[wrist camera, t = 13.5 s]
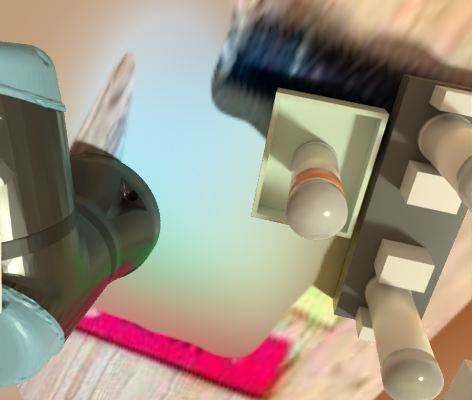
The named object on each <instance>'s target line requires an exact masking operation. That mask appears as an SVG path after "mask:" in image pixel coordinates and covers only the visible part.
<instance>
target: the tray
mask: <svg viewBox="0 0 472 400" xmlns="http://www.w3.org/2000/svg"><path fill="white" fill-rule="evenodd" d="M388 117H389V114H388V113H387V112H386V110H385V109H383V108H378V107H373V106H368V105H363V104H358V103H353V102H348V101H343V100H338V99H333V98H328V97H323V96H318V95H313V94H308V93H303V92H298V91H293V90H288V89H283V88H278V90H277V92H276V96H275V101H274V106H273V111H272V116H271V121H270V126H269V130H268V135H267V140H266V145H265V150H264V155H263V160H262V165H261V169H260V175H259V180H258V184H257V189H256V194H255V199H254V203H253V208H252V213H251V217H256V218H260V219H265V220H269V221H274V222H278V223H283V224H287V225H289V223H288V221H287V217H286V206H287V200H288V195H289V188H290V184H291V176H292V160H293V155H294V153H295V151H296V150H297V149H298V147H300V146H301V145H302V144H304V143H306V142H308V141H314V140H317V141H322V142H325V143H327V144H329V145H330V146H331V147H332V148H333V149H334V150H335V152H336V154H337V158H338V164H339V166H338V168H339V174H340V179H341V183H342V186H343V191H344V196H345V199H346V203H347V208H348V216H347V220H346V223H345V225H344V226H343V228H342V229H341V230H340V231H339V232H338V233H337V234H335V235H336V236H341V237H345V238H350V239H351V236H352V233H353V229H354V226H355V223H356V220H357V217H358V213H359V210H360V207H361V204H362V201H363V197H364V194H365V191H366V188H367V185H368V181H369V178H370V175H371V172H372V169H373V165H374V162H375V159H376V156H377V153H378V149H379V146H380V143H381V140H382V137H383V133H384V130H385V127H386V124H387V121H388Z"/></svg>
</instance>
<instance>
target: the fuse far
mask: <svg viewBox="0 0 472 400" xmlns="http://www.w3.org/2000/svg"><path fill="white" fill-rule="evenodd" d="M364 291H365V297H366V302H367V304H368V307H369V312H370V317H371V322H372V327H373V332H374V336H375V341H376V346H377V351H378V356H379V361H380V366H381V377H382V382H383V387H384V389H385V391H386V392H387V393H388V395H389V396H391V397H392V398H393V399H395V400H432V399H433V398H435V397H436V396H437V395H438V394H439V393H440V392H441V390H442V388H443V384H444V379H443V376H442V372H441V370H440V367H439V365H438V362H437V361H436V359H435V357H434V355H433V352H432V349H431V347H430V344H429V341H428V338H427V336H426V333H425V330H424V328H423V325H422V322H421V319H420V317H419V314H418V311H417V309H416V306H415V303H414V300H413V298H412V292H411V290H409V289H404V288H400V287H395V286H391V285H387V284H382V283H378V279H377V275H374V276H372V277H371V278H370V279H369V280H368V281H367V283H366V285H365V290H364Z"/></svg>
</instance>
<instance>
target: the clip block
mask: <svg viewBox="0 0 472 400" xmlns="http://www.w3.org/2000/svg"><path fill="white" fill-rule="evenodd" d="M441 112H450V113H456V114H459V115H461V116H462V117H464V118H465V119H467V120H468V121H469V122H470V123H471V124H472V87H469V86H464V85H459V84H453V83H448V82H443V81H438V80H433V79H428V78H422V77H417V76H412V75H407V74H403V77H402V80H401V83H400V86H399V89H398V93H397V96H396V99H395V102H394V105H393V109H392V112H391V115H390V118H389V121H388V125H387V128H386V131H385V134H384V137H383V140H382V144H381V147H380V150H379V153H378V156H377V160H376V163H375V166H374V169H373V172H372V176H371V179H370V182H369V185H368V188H367V192H366V195H365V198H364V201H363V204H362V207H361V211H360V214H359V217H358V220H357V223H356V227H355V230H354V233H353V236H352V239H351V243H350V246H349V249H348V252H347V255H346V258H345V262H344V265H343V268H342V271H341V274H340V278H339V281H338V284H337V287H336V290H335V294H334V297H333V307H334V315H338V316H343V317H347V318H351V319H355V320H356V327H357V333H358V339H361V340H365V341H370V342H374V343H376V341H375V336H374V332H373V327H372V322H371V317H370V312H369V307H368V304H367V302H366V297H365V291H364V290H365V285H366V283H367V281H368V280H369V279H370V278H371V277H372V276H374V275H377V279H378V283H382V284H387V285H391V286H395V287H400V288H404V289H409V290H411V292H412V298H413V300H414V303H415V306H416V309H417V311H418V314H419V317H420V319H422V317H423V315H424V312H425V310H426V307H427V305H428V303H429V300H430V298H431V296H432V293H433V291H434V288H435V286H436V284H437V281H438V279H439V276H440V274H441V272H442V269H443V267H444V265H445V262H446V260H447V257H448V255H449V253H450V250H451V248H452V246H453V243H454V241H455V238H456V236H457V234H458V231H459V229H460V226H461V224H462V222H463V219H464V217H465V215H466V212H467V210H468V208H467V207H466V206H465V204H464V203H463V202H462V201H461V199H460V198H459V196H458V194H457V192H456V191H455V190H454V189H453V188H452V187H451V185H450V184H449V183H448V182H447V181H446V180H445V178H444V177H443V176H442V175H441V174H440V172H439V171H438V170H437V169H436V168H435V167H434V165H433V164H432V163H431V162H430V161H429V160H427V159H426V158H425V157H424V155H423V154H422V153H421V152H420V150H419V148H418V145H417V134H418V131H419V129H420V127H421V125H422V124H423V123H424V122H425V121H426V120H427V119H428V118H430V117H431V116H433V115H435V114H438V113H441Z"/></svg>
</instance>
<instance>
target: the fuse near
mask: <svg viewBox="0 0 472 400" xmlns="http://www.w3.org/2000/svg"><path fill="white" fill-rule="evenodd" d="M417 145H418V148H419V150H420V152H421V153H422V154H423V155H424V157H425V158H426V159H427V160H429V161H430V162H431V163H432V164H433V165H434V167H435V168H436V169H437V170H438V171H439V172H440V174H441V175H442V176H443V177H444V178H445V180H446V181H447V182H448V183H449V184H450V185H451V187H452V188H453V189H454V190H455V191H456V192H457V194H458V196H459V198H460V199H461V201H462V202H463V203H464V204H465V206H466V207H467V208H468V209H469V210H470V211H471V212H472V124H471V123H470V122H469V121H468V120H467V119H465V118H464V117H462V116H461V115H459V114H456V113H450V112H441V113H438V114H435V115H433V116H431V117H430V118H428V119H427V120H426V121H425V122H424V123H423V124H422V125H421V127H420V129H419V131H418V134H417Z"/></svg>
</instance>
